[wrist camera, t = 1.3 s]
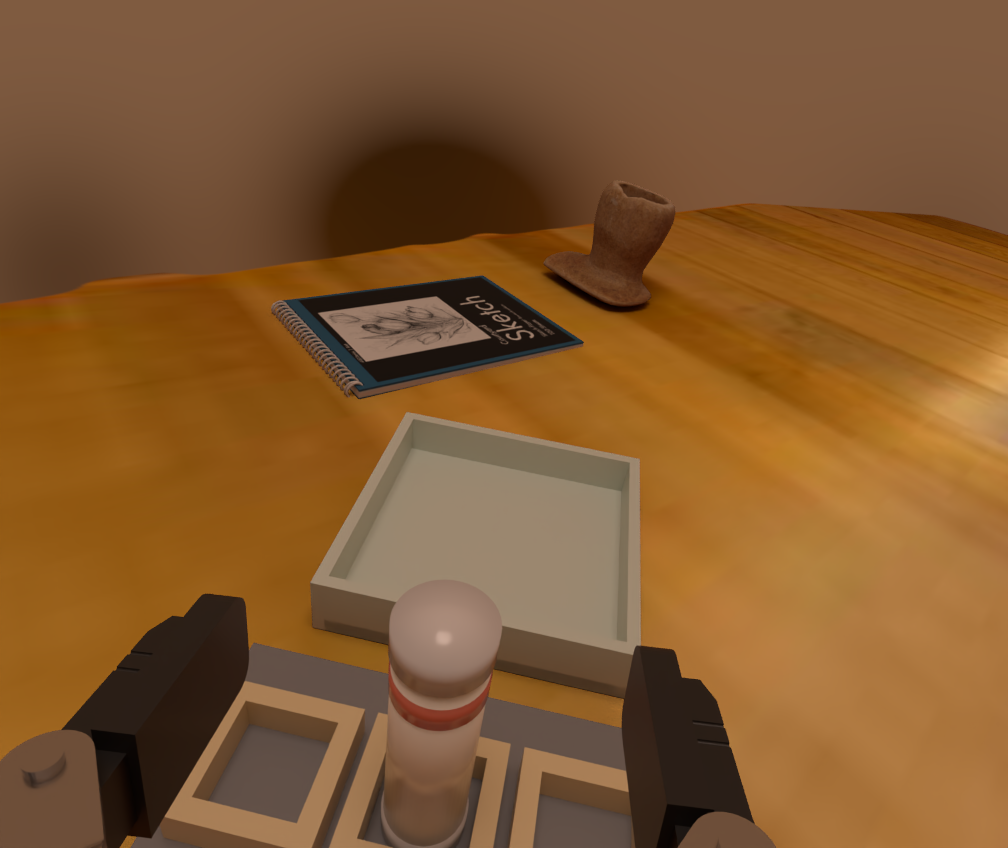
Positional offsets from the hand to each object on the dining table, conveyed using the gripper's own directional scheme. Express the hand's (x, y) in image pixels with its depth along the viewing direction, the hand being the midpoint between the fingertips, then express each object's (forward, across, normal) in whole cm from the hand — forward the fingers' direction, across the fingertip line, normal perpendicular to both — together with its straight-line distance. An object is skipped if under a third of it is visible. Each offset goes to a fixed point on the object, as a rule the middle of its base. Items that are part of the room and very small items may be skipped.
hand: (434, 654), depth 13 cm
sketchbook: (+65, +11, +10) cm, 67 cm away
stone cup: (+86, -10, +6) cm, 87 cm away
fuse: (+11, +2, +20) cm, 23 cm away
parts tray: (+31, 0, +17) cm, 35 cm away
